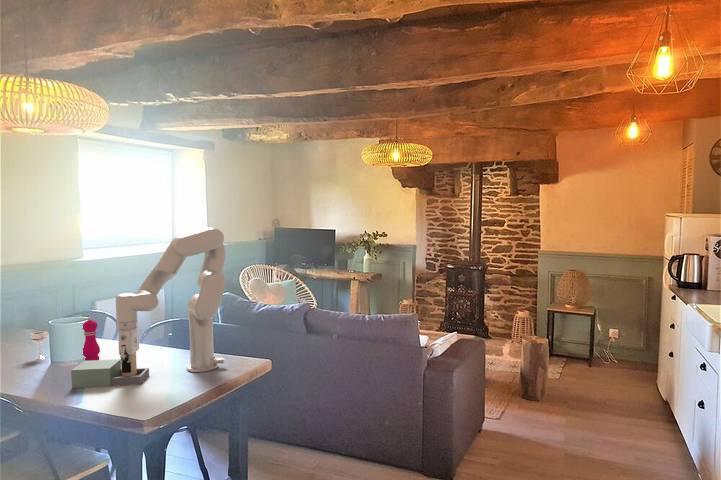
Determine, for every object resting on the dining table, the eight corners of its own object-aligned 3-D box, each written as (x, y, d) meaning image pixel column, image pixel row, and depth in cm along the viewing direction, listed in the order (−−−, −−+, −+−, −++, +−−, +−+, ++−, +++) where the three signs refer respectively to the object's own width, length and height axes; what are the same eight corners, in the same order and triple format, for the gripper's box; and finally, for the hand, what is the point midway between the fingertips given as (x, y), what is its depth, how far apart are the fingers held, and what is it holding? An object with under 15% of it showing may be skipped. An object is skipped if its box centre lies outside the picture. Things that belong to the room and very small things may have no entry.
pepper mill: (92, 363, 225) (90, 318, 224) (78, 362, 226) (76, 318, 225) (104, 358, 232) (102, 315, 231) (90, 358, 234) (88, 315, 232)
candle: (140, 373, 204) (138, 348, 203) (128, 377, 199) (127, 352, 198) (130, 371, 206) (129, 347, 205) (118, 375, 201) (117, 350, 200)
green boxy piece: (149, 374, 209) (148, 357, 209) (140, 384, 197) (139, 367, 197) (85, 377, 206) (84, 360, 206) (72, 388, 194) (71, 370, 194)
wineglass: (51, 356, 236) (50, 331, 236) (36, 360, 231) (34, 334, 230) (44, 354, 240) (43, 329, 239) (28, 358, 234) (27, 332, 234)
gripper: (129, 329, 193) (132, 376, 194) (143, 319, 210) (145, 362, 211) (109, 330, 192) (111, 377, 193) (124, 320, 209) (126, 363, 210)
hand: (129, 369), depth 202 cm, fingers closed on candle, 5 cm apart
